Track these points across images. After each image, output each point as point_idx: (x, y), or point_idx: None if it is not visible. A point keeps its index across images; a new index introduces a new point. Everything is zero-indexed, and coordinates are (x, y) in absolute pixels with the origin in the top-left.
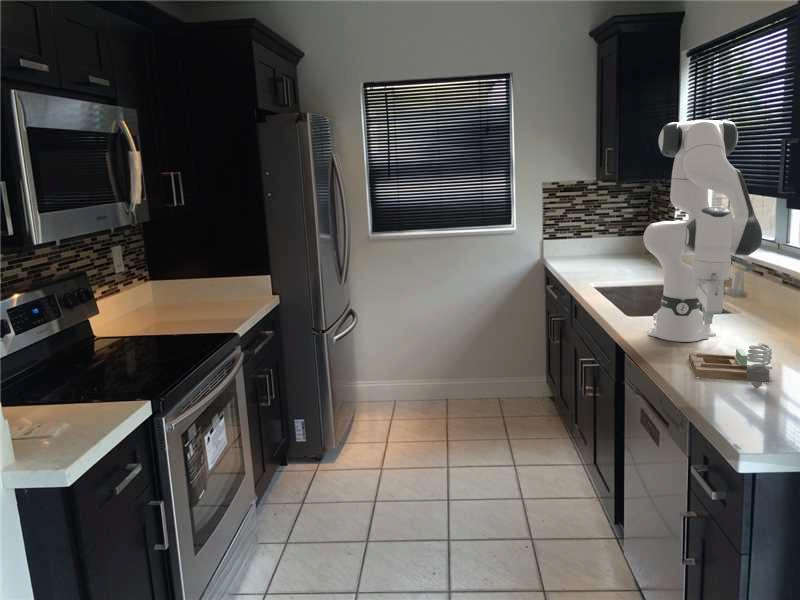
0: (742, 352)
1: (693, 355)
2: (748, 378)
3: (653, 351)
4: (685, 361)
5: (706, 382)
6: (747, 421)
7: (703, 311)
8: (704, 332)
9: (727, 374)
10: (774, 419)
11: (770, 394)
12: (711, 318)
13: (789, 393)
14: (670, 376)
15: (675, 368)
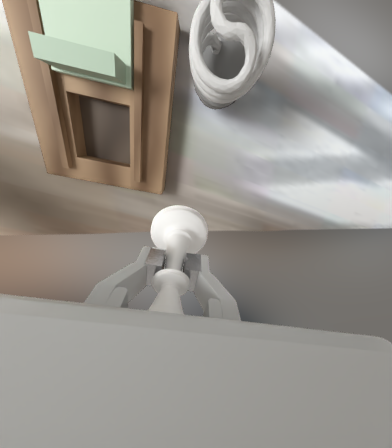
0: (78, 55)
1: (65, 170)
2: (221, 108)
3: (23, 213)
4: None
5: (187, 180)
6: (360, 182)
7: (136, 293)
8: (195, 246)
9: (167, 135)
10: (373, 134)
11: None
12: (209, 273)
13: None
14: None
15: (118, 206)
